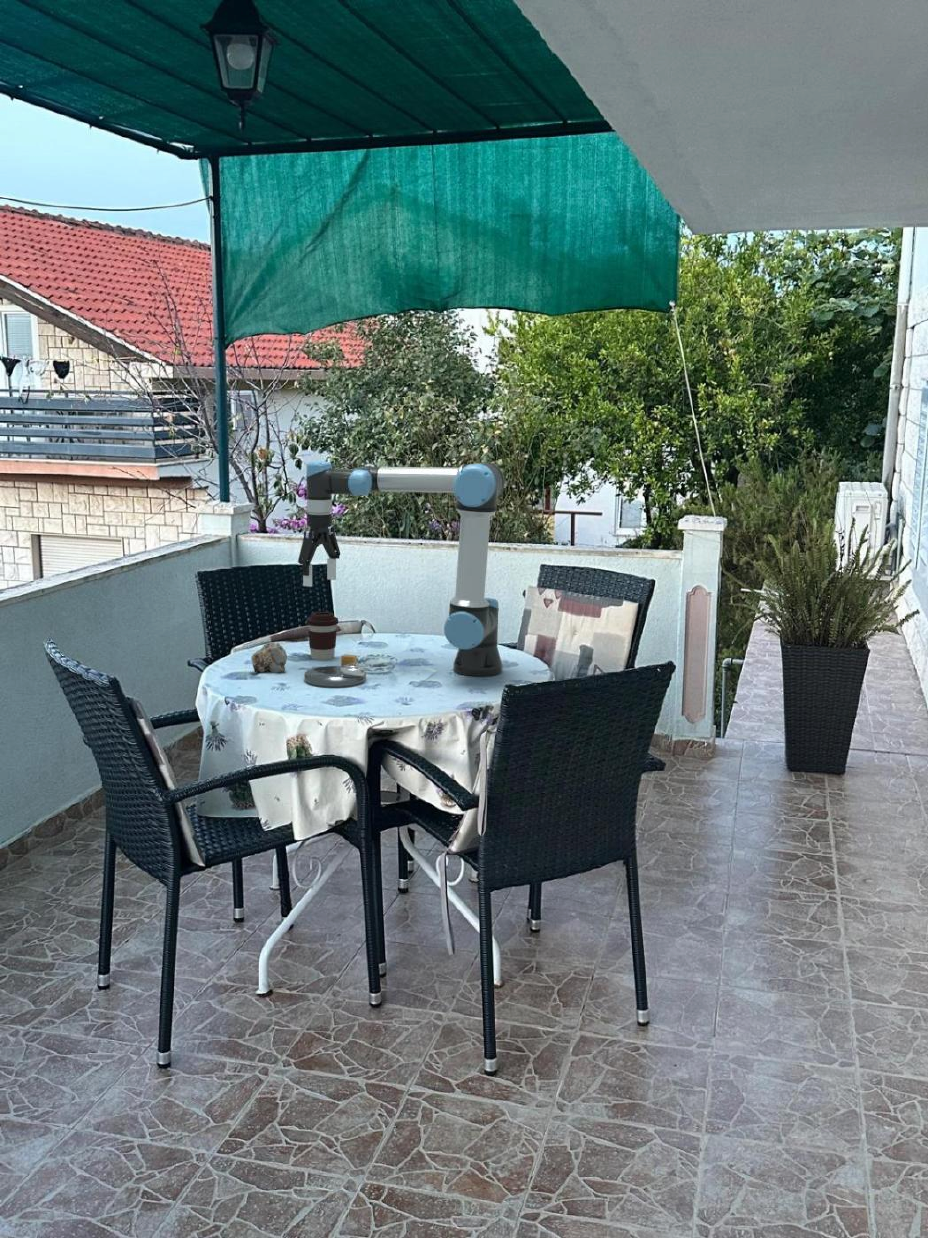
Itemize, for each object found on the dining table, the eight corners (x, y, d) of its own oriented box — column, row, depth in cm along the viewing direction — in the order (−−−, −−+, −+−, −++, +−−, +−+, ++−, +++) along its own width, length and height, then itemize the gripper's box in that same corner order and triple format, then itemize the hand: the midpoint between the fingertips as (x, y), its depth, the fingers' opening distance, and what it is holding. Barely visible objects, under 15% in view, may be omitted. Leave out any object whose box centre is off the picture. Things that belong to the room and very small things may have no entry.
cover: (368, 673, 342) (368, 663, 342) (359, 679, 336) (359, 668, 335) (346, 671, 344) (346, 661, 344) (336, 676, 338) (336, 666, 337)
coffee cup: (332, 664, 364) (332, 617, 361) (302, 662, 366) (302, 615, 363) (342, 657, 374) (342, 611, 371) (312, 655, 375) (312, 609, 372)
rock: (268, 677, 358) (246, 654, 355) (297, 654, 356) (275, 631, 353) (267, 688, 349) (244, 664, 346) (296, 665, 348) (274, 641, 345)
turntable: (378, 673, 350) (378, 657, 349) (352, 690, 331) (352, 673, 330) (323, 668, 355) (323, 652, 354) (294, 684, 336) (294, 667, 335)
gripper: (330, 508, 363) (330, 575, 367) (285, 516, 340) (286, 587, 345) (351, 510, 359) (351, 577, 364) (307, 518, 337) (308, 590, 342)
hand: (319, 582), depth 354 cm, fingers open, 13 cm apart
